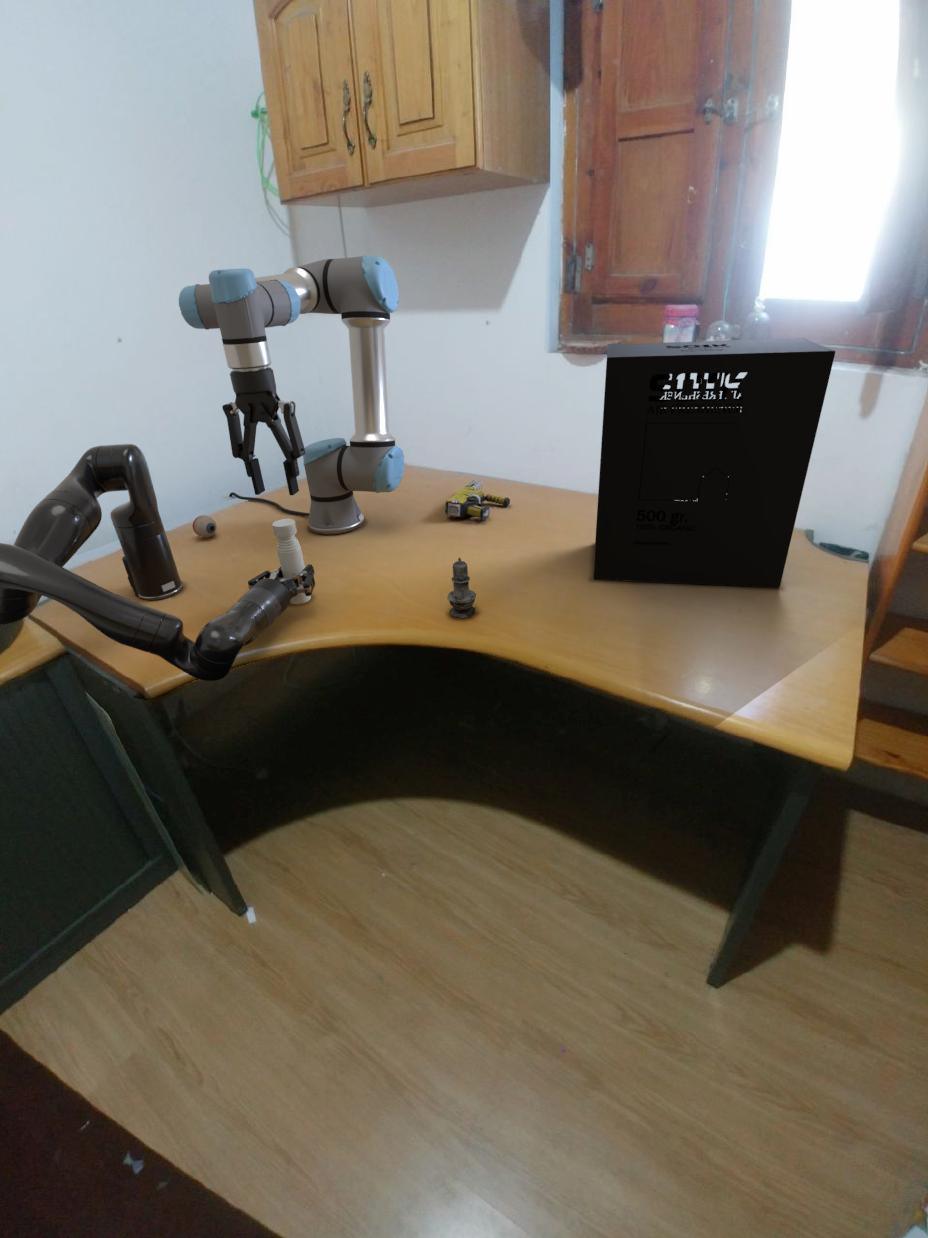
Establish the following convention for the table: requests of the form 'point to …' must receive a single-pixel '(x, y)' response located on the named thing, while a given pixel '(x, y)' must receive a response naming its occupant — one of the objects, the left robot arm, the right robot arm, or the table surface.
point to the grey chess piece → (461, 592)
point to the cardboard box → (706, 459)
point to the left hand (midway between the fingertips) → (299, 567)
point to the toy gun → (472, 502)
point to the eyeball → (204, 526)
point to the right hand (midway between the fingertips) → (277, 492)
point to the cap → (284, 528)
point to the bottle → (291, 562)
